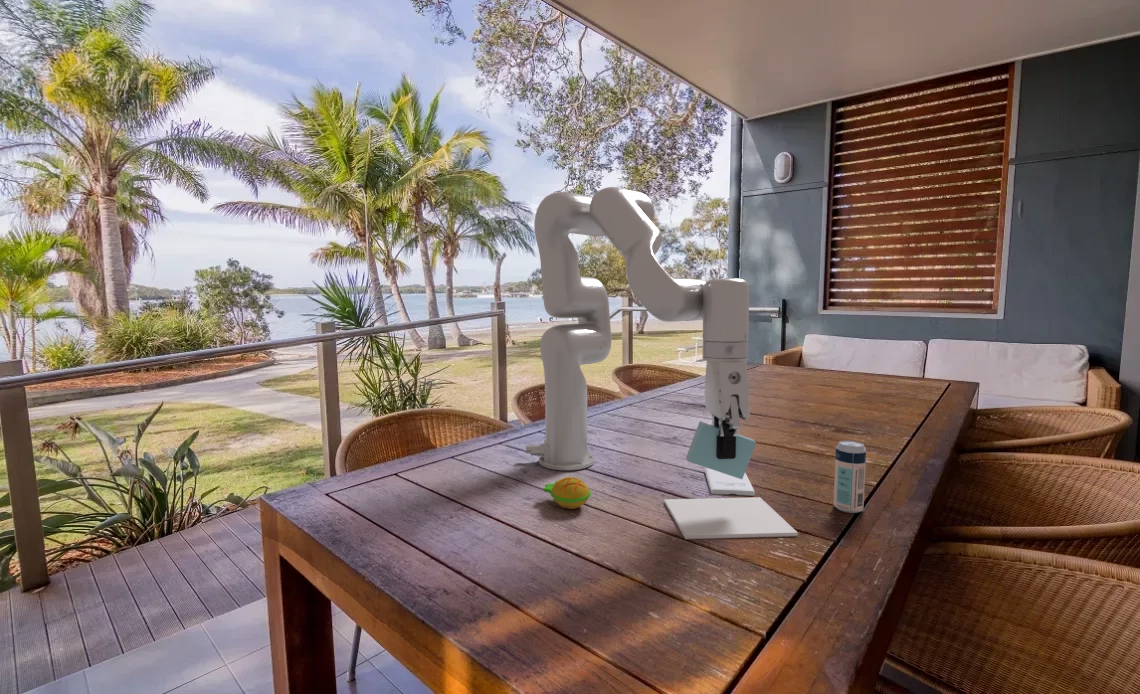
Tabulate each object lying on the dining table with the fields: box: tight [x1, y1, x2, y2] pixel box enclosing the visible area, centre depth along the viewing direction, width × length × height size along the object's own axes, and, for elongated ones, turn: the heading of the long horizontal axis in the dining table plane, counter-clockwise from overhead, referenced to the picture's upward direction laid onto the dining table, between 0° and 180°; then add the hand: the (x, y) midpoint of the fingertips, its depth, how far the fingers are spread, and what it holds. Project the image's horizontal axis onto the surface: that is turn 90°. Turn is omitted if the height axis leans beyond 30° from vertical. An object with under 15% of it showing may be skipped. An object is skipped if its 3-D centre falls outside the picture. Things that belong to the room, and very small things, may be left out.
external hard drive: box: [704, 467, 756, 497], centre depth 110 cm, size 2×8×12 cm
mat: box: [663, 496, 799, 540], centre depth 93 cm, size 18×15×1 cm
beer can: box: [832, 440, 867, 514], centre depth 96 cm, size 5×5×12 cm
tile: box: [685, 420, 757, 479], centre depth 94 cm, size 10×2×7 cm, turn 93°
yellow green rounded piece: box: [542, 476, 592, 510], centre depth 99 cm, size 7×10×5 cm
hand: (723, 455), depth 94 cm, fingers closed on tile, 1 cm apart
